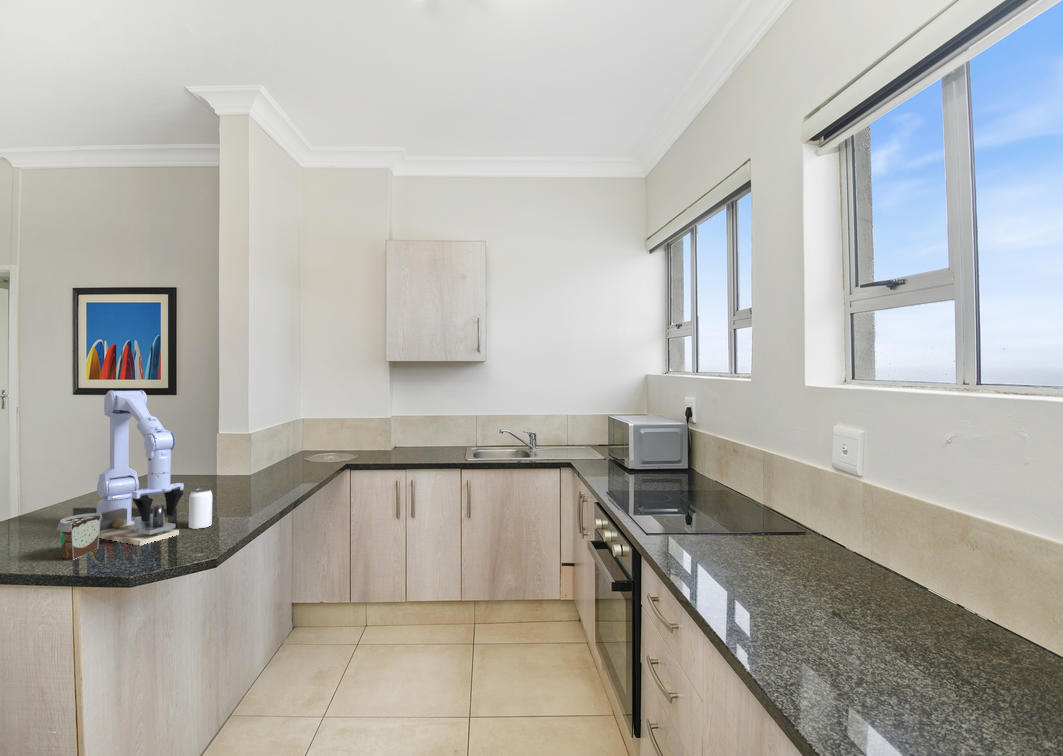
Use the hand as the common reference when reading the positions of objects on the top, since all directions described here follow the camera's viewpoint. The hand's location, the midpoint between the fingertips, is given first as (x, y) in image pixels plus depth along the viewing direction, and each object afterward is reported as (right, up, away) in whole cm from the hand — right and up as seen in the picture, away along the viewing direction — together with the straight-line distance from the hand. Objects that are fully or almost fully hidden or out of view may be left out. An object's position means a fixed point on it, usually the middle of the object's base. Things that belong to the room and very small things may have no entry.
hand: (158, 518), depth 164 cm
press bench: (-10, -6, +3) cm, 12 cm away
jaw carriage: (-1, -4, 0) cm, 4 cm away
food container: (-13, -6, -15) cm, 21 cm away
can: (+4, -7, +14) cm, 16 cm away
